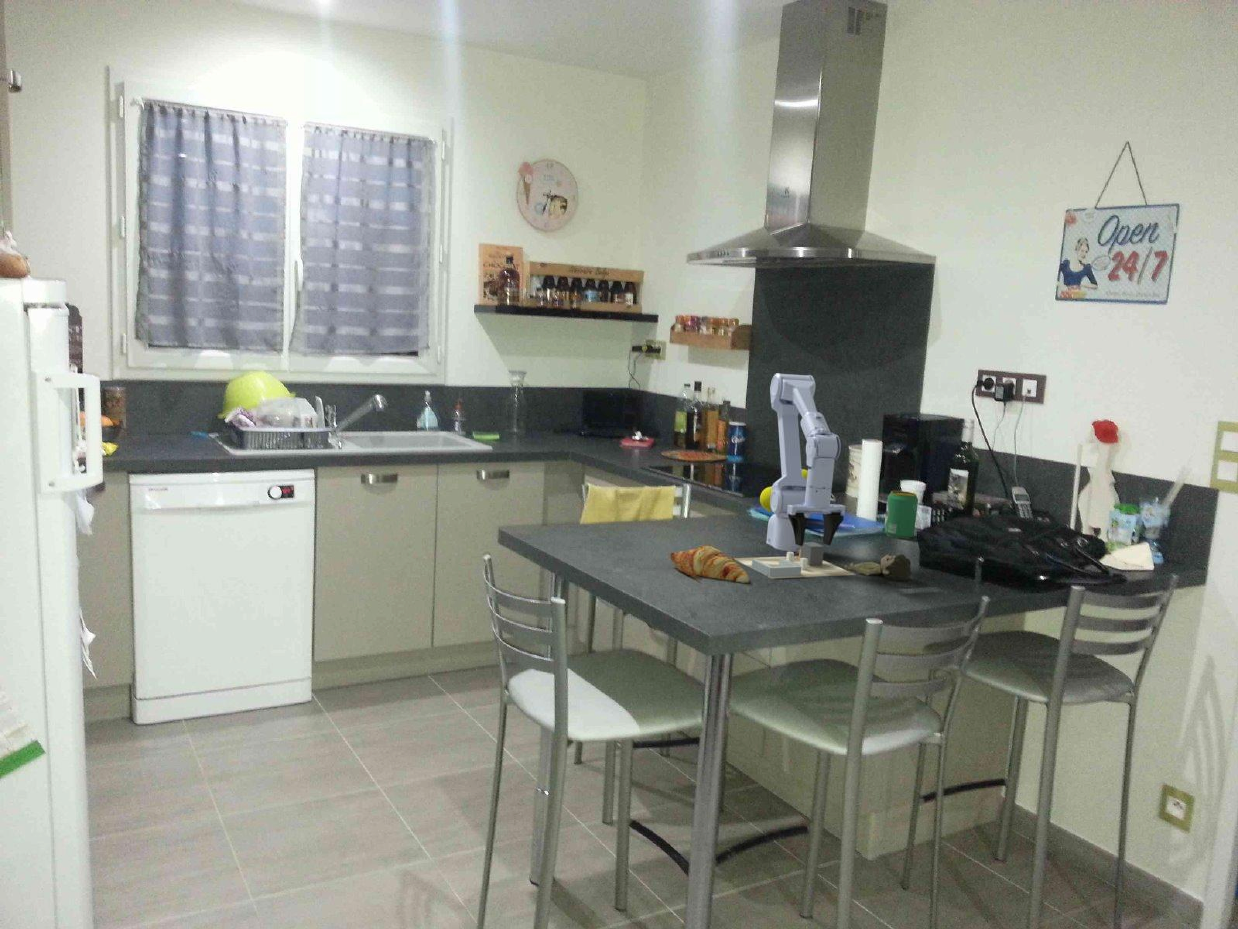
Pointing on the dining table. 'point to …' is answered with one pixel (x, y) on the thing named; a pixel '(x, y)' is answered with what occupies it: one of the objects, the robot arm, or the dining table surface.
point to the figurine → (886, 567)
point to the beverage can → (901, 514)
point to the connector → (811, 553)
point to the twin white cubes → (802, 560)
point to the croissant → (709, 564)
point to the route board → (811, 571)
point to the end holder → (777, 568)
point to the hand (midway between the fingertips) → (813, 544)
